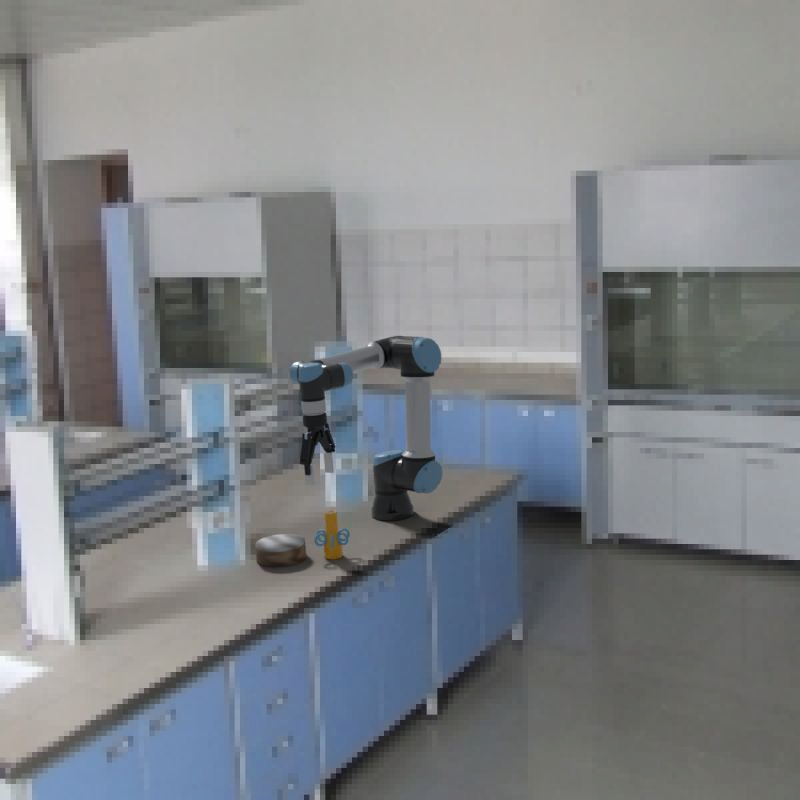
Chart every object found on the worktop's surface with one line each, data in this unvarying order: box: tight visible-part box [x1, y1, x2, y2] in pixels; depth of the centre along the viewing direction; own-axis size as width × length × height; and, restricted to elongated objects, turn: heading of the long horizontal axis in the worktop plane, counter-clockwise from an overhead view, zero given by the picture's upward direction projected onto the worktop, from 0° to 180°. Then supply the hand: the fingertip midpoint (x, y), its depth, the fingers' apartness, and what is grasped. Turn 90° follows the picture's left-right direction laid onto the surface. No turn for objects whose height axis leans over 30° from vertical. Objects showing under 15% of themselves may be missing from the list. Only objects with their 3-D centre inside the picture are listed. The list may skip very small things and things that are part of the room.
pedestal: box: [254, 533, 307, 568], centre depth 348 cm, size 16×16×6 cm
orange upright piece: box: [313, 509, 351, 560], centre depth 346 cm, size 12×10×15 cm
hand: (320, 478), depth 341 cm, fingers open, 13 cm apart
